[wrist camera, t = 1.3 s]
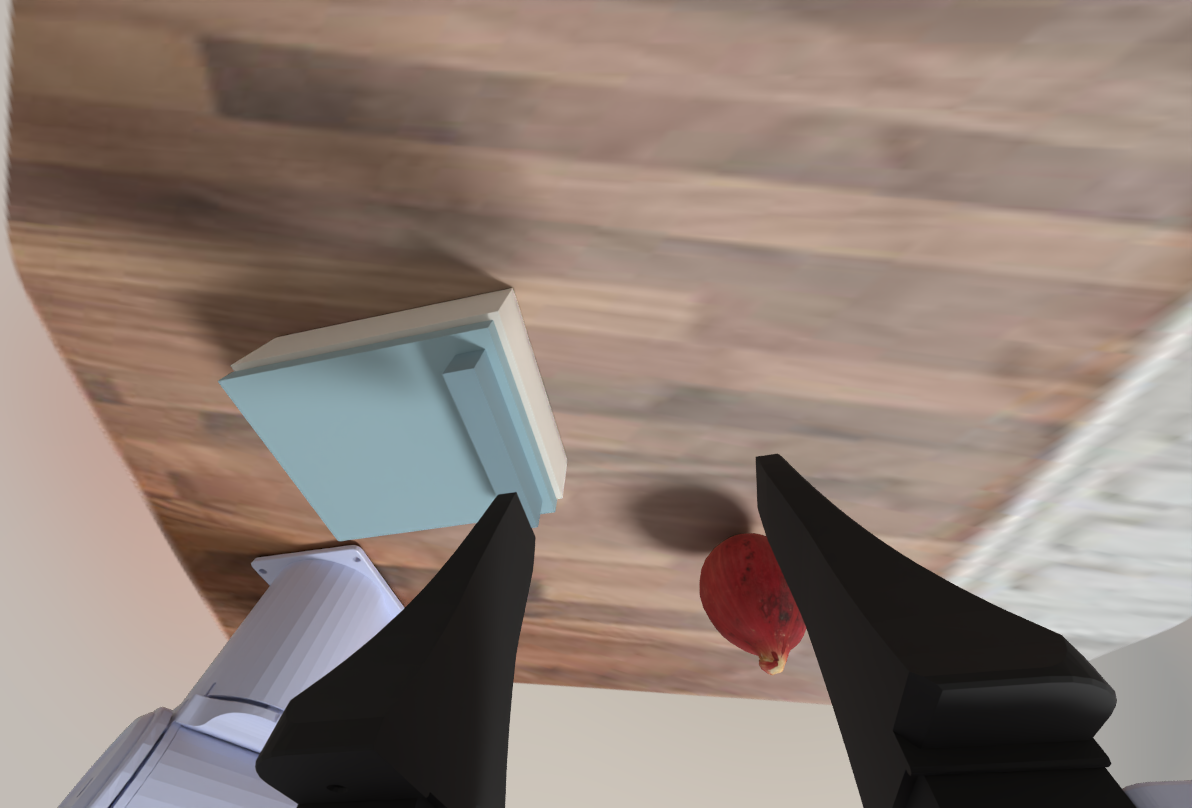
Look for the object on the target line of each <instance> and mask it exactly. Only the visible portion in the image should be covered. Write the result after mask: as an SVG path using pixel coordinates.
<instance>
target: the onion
mask: <svg viewBox="0 0 1192 808" xmlns="http://www.w3.org/2000/svg"><path fill="white" fill-rule="evenodd" d="M700 598H701V601H702V604H703V608H704V610H705V611H706V613H707V615H708V617H709V619H710V620H711V622H712V623H713V625H714V626H715V628H716V629H717V630H718V631H719V632H720V634H721V635H722V636H723V637H724V638H726V639H727V640H728V641H729V642H731V643H732V644H734V645H736V646H737V647H739V648H741V649H742V650H744V651H746V652H748V653H751V654H754V655H757V656H759V658H760V660H759V666H760V667H761V669H762V670H764V671H765V672H766V673H768V674H770V675H774V674H776V673H780V672H782V671H783V669H784V665H785V664H786V661H787V658H788V654H789V652H790V650H791V649H793V648H794V647H795V646H796V645H797V644H798V643H799V642H800V641H801V639H802V637H803V636H804V633H805V630H806V626H805V623H804V621H803V618H802V616H801V613H800V611H799V609H798V607H797V605H796V602H795V600H794V598H793V596H792V593H791V591H790V589H789V587H788V585H787V582H786V580H785V578H784V576H783V573H782V571H781V569H780V567H779V565H778V562H777V560H776V558H775V556H774V553H773V551H772V549H771V547H770V544H769V542H768V539H767V536H764V535H760V534H755V533H750V534H739V535H735V536H732V537H730V538H728V539H726V540H725V541H723V542H722V543H720V544H719V545H718V546H717V547H715V548H714V549H713V551H712V552H711V553H710V554H709V556H708V557H707V558H706V560H705V562H704V564H703V567H702V569H701V576H700Z"/></svg>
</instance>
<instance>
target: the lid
mask: <svg viewBox="0 0 1192 808" xmlns="http://www.w3.org/2000/svg"><path fill="white" fill-rule="evenodd" d="M218 382H219V384H220V385H221V386H222V388H223V389H224V390H225V392H226V393H227V394H228V396H229V397H230V398H231V400H232V401H233V402H234V404H235V405H236V406H237V408H238V409H239V410H240V412H241V413H242V414H243V416H244V417H245V418H246V419H247V421H248V422H249V423H250V425H251V426H252V427H253V429H254V430H255V431H256V433H257V434H258V435H259V437H260V438H261V439H262V441H263V442H264V443H265V445H266V446H267V447H268V449H269V450H270V451H271V453H272V454H273V455H274V457H275V458H276V459H277V461H278V462H279V463H280V465H281V466H282V467H283V469H284V470H285V471H286V473H287V474H288V475H289V477H290V478H291V479H292V481H293V482H294V483H295V485H296V486H297V487H298V488H299V490H300V491H301V492H302V494H303V495H304V496H305V498H306V499H307V500H308V502H309V503H310V504H311V506H312V507H313V508H314V510H315V511H316V512H317V514H318V515H319V516H320V518H321V519H322V520H323V522H324V523H325V524H326V526H327V527H328V528H329V530H330V531H331V532H332V534H333V535H334V536H335V538H336V539H337V540H338V541H345V540H352V539H360V538H367V537H375V536H382V535H389V534H397V533H404V532H412V531H419V530H426V529H434V528H441V527H449V526H456V525H463V524H471V523H477V522H478V521H479V519H480V518H481V517H482V515H483V514H484V513H485V511H486V510H487V509H488V507H489V506H490V504H491V503H492V502H493V500H494V499H495V498H496V496H497V495H499V494H505V493H512V492H517V494H518V497H519V499H520V502H521V504H522V506H523V509H524V511H525V514H526V516H527V518H528V521H529V523H530V525H531V528H534V527H538V524H539V518H540V514H545V513H552V512H555V510H556V503H557V499H556V496H555V493H554V490H553V488H552V485H551V482H550V479H549V476H548V473H547V471H546V468H545V465H544V462H543V459H542V457H541V454H540V451H539V448H538V445H537V442H536V440H535V437H534V434H533V431H532V428H531V425H530V423H529V420H528V417H527V414H526V411H525V408H524V406H523V403H522V400H521V397H520V394H519V391H518V389H517V386H516V383H515V380H514V377H513V374H512V372H511V369H510V366H509V363H508V360H507V357H506V355H505V352H504V349H503V346H502V343H501V341H500V338H499V335H498V332H497V329H496V326H495V324H494V321H493V320H489V321H484V322H479V323H474V324H469V325H464V326H459V327H454V328H449V329H444V330H439V331H434V332H429V333H424V334H419V335H414V336H409V337H404V338H399V339H394V340H389V341H384V342H379V343H374V344H369V345H364V346H359V347H354V348H349V349H344V350H339V351H334V352H329V353H324V354H319V355H314V356H309V357H304V358H299V359H294V360H290V361H285V362H280V363H275V364H270V365H265V366H260V367H255V368H250V369H245V370H240V371H235V372H231V373H230V374H228V375H227V376H225V377H223V378H222V379H220V380H219V381H218Z"/></svg>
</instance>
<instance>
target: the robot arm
mask: <svg viewBox="0 0 1192 808" xmlns="http://www.w3.org/2000/svg"><path fill="white" fill-rule="evenodd" d="M756 478H757V504H758V511H759V514H760V517H761V521H762V524H763V527H764V530H765V533H766V536H767V539H768V542H769V544H770V547H771V549H772V551H773V553H774V556H775V558H776V560H777V562H778V565H779V567H780V569H781V571H782V573H783V576H784V578H785V580H786V582H787V585H788V587H789V589H790V591H791V593H792V596H793V598H794V600H795V602H796V605H797V607H798V609H799V611H800V613H801V616H802V618H803V621H804V623H805V626H806V628H807V631H808V634H809V637H810V640H811V643H812V646H813V649H814V652H815V654H816V657H817V660H818V663H819V666H820V669H821V672H822V675H823V678H824V681H825V684H826V687H827V691H828V694H829V697H830V700H831V703H832V706H833V709H834V712H835V715H836V718H837V722H838V725H839V728H840V731H841V734H842V737H843V741H844V744H845V747H846V750H847V753H848V757H849V760H850V764H851V767H852V770H853V773H854V777H855V780H856V784H857V787H858V790H859V794H860V797H861V800H862V804H863V807H864V808H1192V780H1187V781H1164V782H1163V781H1162V782H1145V783H1138V784H1134V785H1130V786H1127V787H1125V788H1123V789H1122V788H1121V787H1120V786H1119V785H1118V783H1117V782H1116V781H1115V780H1114V778H1113V777H1112V776H1111V774H1110V773H1109V772H1108V771H1107V769H1106V768H1105V767H1109V766H1110V765H1111V762H1110V759H1109V757H1108V756H1107V755H1106V753H1105V752H1104V751H1103V750H1102V748H1101V747H1100V746H1099V745H1098V744H1097V742H1096V741H1095V740H1094V738H1093V737H1094V736H1095V734H1096V733H1097V732H1098V731H1099V729H1100V728H1101V727H1102V726H1103V724H1104V723H1105V722H1106V721H1107V719H1108V718H1109V717H1110V716H1111V714H1112V712H1113V710H1114V708H1115V706H1116V702H1117V699H1116V694H1115V691H1114V690H1113V689H1112V687H1111V686H1110V685H1109V684H1108V683H1107V682H1106V681H1105V680H1104V679H1103V677H1101V675H1100V674H1099V673H1098V672H1097V671H1096V669H1095V668H1094V667H1093V666H1092V665H1091V664H1090V663H1089V662H1088V661H1087V660H1086V658H1085V657H1084V656H1083V655H1082V654H1081V653H1080V652H1078V651H1077V650H1076V649H1075V648H1074V647H1073V646H1072V645H1071V644H1070V643H1069V642H1068V641H1067V640H1066V639H1065V638H1064V637H1063V636H1062V635H1060V634H1058V633H1056V632H1053V631H1051V630H1049V629H1047V628H1044V627H1042V626H1040V625H1038V624H1035V623H1033V622H1031V621H1029V620H1026V619H1024V618H1022V617H1020V616H1017V615H1015V614H1013V613H1011V612H1008V611H1006V610H1004V609H1002V608H1000V607H998V606H996V605H993V604H991V603H989V602H987V601H985V600H983V599H981V598H979V597H977V596H976V595H974V594H972V593H970V592H968V591H966V590H964V589H962V588H960V587H958V586H956V585H954V584H952V583H950V582H949V581H947V580H945V579H943V578H942V577H940V576H938V575H936V574H935V573H933V572H931V571H929V570H928V569H926V568H924V567H922V566H921V565H919V564H917V563H915V562H914V561H912V560H910V559H909V558H907V557H906V556H904V555H902V554H901V553H899V552H898V551H896V550H895V549H893V548H892V547H890V546H889V545H887V544H886V543H884V542H883V541H881V540H880V539H878V538H877V537H875V536H874V535H873V534H871V533H870V532H869V531H867V530H866V529H864V528H863V527H862V526H860V525H859V524H858V523H856V522H855V521H854V520H853V519H851V518H850V517H849V516H847V515H846V514H845V513H844V512H842V511H841V510H840V509H839V508H837V507H836V506H835V505H834V504H833V503H831V502H830V501H829V500H828V499H827V498H826V497H824V496H823V495H822V494H821V493H820V492H819V491H817V490H816V489H815V488H814V487H813V486H812V485H811V484H810V483H809V482H808V481H806V480H805V479H804V478H803V477H802V476H801V475H800V474H799V473H798V472H797V471H796V470H795V469H794V468H793V467H792V466H791V465H790V464H789V463H788V462H787V461H786V460H785V459H784V458H783V457H782V456H780V455H779V454H772V455H765V456H758V457H756ZM534 552H535V535H534V533H533V530H532V528H531V525H530V523H529V521H528V518H527V516H526V514H525V511H524V509H523V506H522V504H521V502H520V499H519V497H518V494H517V492H512V493H505V494H499V495H497V496H496V498H495V499H494V500H493V502H492V503H491V504H490V506H489V507H488V509H487V510H486V511H485V513H484V514H483V515H482V517H481V518H480V519H479V521H478V522H477V524H476V525H475V526H474V528H473V529H472V530H471V532H470V533H469V534H468V536H467V537H466V538H465V540H464V541H463V542H462V544H461V545H460V546H459V547H458V549H457V550H456V551H455V552H454V554H453V555H452V556H451V557H450V559H449V560H448V561H447V562H446V563H445V565H444V566H443V567H442V568H441V569H440V571H439V572H438V573H437V574H436V575H435V577H434V578H433V579H432V580H431V581H430V582H429V583H428V584H427V585H426V587H425V588H424V589H423V590H422V591H421V592H420V593H419V594H418V595H417V596H416V597H415V598H414V599H413V600H412V601H411V602H410V603H409V604H408V605H407V606H406V607H405V608H404V606H403V605H402V604H401V602H400V601H399V600H398V598H397V597H396V595H395V594H394V593H393V591H392V590H391V588H390V587H389V586H388V584H387V583H386V582H385V580H384V579H383V577H382V576H381V575H380V573H379V572H378V570H377V569H376V568H375V566H374V565H373V564H372V562H371V561H370V559H369V558H368V557H367V555H366V554H365V552H364V551H363V550H362V548H361V547H359V546H357V545H348V546H341V547H333V548H326V549H318V550H311V551H303V552H296V553H288V554H281V555H273V556H266V557H258V558H255V559H254V561H253V562H252V563H251V566H252V567H253V568H254V569H255V571H256V572H257V573H258V574H259V575H260V576H261V577H262V578H263V579H264V580H265V581H266V582H267V583H268V584H269V585H270V586H269V588H268V589H267V590H266V592H265V593H264V594H263V596H262V597H261V598H260V600H259V601H258V602H257V604H256V605H255V606H254V608H253V609H252V610H251V612H250V613H249V614H248V616H247V617H246V618H245V620H244V621H243V622H242V624H241V625H240V626H239V628H238V629H237V630H236V632H235V633H234V634H233V636H232V637H231V638H230V640H229V641H228V642H227V643H226V645H225V646H224V647H223V649H222V650H221V651H220V653H219V654H218V656H217V657H216V658H215V659H214V661H213V662H212V663H211V665H210V666H209V667H208V669H207V670H206V671H205V673H204V674H203V675H202V677H201V678H200V679H199V681H198V682H197V684H196V685H195V686H194V687H193V689H192V690H191V691H190V693H189V694H188V695H187V697H186V698H185V699H184V701H183V702H182V703H181V704H180V705H179V706H178V707H176V708H175V709H174V710H170V709H167V708H165V707H160V708H158V709H156V710H155V711H154V712H151V713H148V714H145V715H143V716H140V717H138V718H137V719H136V720H134V721H133V722H132V723H131V724H130V725H129V726H128V727H127V728H126V729H125V730H124V731H123V732H122V733H121V734H120V735H119V737H118V738H117V739H116V740H115V741H114V742H113V743H112V744H111V745H110V746H109V748H108V749H107V750H106V751H105V752H104V753H103V754H102V755H101V757H100V758H99V759H98V760H97V761H96V762H95V763H94V765H93V766H92V767H91V768H90V769H89V770H88V772H87V773H86V774H85V775H84V776H83V777H82V779H81V780H80V781H79V782H78V783H77V785H76V786H75V787H74V788H73V790H72V791H71V792H70V793H69V794H68V795H67V797H66V798H65V799H64V800H63V801H62V803H61V804H60V805H59V806H58V808H505V794H506V770H507V753H508V738H509V723H510V711H511V700H512V688H513V679H514V670H515V661H516V653H517V647H518V641H519V636H520V631H521V626H522V621H523V616H524V612H525V607H526V602H527V597H528V592H529V587H530V582H531V577H532V572H533V564H534Z"/></svg>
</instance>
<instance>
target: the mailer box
mask: <svg viewBox="0 0 1192 808" xmlns="http://www.w3.org/2000/svg"><path fill="white" fill-rule="evenodd" d="M489 320H493V321H494V324H495V326H496V329H497V332H498V335H499V338H500V341H501V343H502V346H503V349H504V352H505V355H506V357H507V360H508V363H509V366H510V369H511V372H512V374H513V377H514V380H515V383H516V386H517V389H518V391H519V394H520V397H521V400H522V403H523V406H524V408H525V411H526V414H527V417H528V420H529V423H530V425H531V428H532V431H533V434H534V437H535V440H536V442H537V445H538V448H539V451H540V454H541V457H542V459H543V462H544V465H545V468H546V471H547V473H548V476H549V479H550V482H551V485H552V488H553V490H554V493H555V496H556V499H561V498H563V490H564V483H565V475H566V468H567V457H566V454H565V451H564V448H563V445H562V442H561V438H560V435H559V432H558V429H557V426H556V423H555V419H554V416H553V413H552V410H551V407H550V404H549V400H548V397H547V394H546V391H545V388H544V385H543V381H542V378H541V375H540V372H539V369H538V366H537V363H536V359H535V356H534V353H533V350H532V347H531V344H530V340H529V337H528V334H527V331H526V328H525V325H524V321H523V318H522V315H521V312H520V309H519V306H518V302H517V299H516V296H515V293H514V290H513V288H509V289H505V290H500V291H495V292H490V293H486V294H481V295H476V296H471V297H466V298H462V299H457V300H452V301H447V302H443V303H438V304H433V305H428V306H424V307H419V308H414V309H409V310H405V311H400V312H395V313H390V314H385V315H381V316H376V317H371V318H366V319H362V320H357V321H352V322H347V323H343V324H338V325H333V326H328V327H323V328H319V329H314V330H309V331H304V332H300V333H295V334H290V335H285V336H281V337H276V338H274V339H273V340H271V341H270V342H268V343H266V344H265V345H263V346H261V347H260V348H258V349H256V350H255V351H253V352H251V353H250V354H248V355H247V356H245V357H243V358H242V359H240V360H238V361H237V362H235V363H233V364H232V365H230V366H231V367H232V369H233V370H234V371H240V370H245V369H250V368H255V367H260V366H265V365H270V364H275V363H280V362H285V361H290V360H294V359H299V358H304V357H309V356H314V355H319V354H324V353H329V352H334V351H339V350H344V349H349V348H354V347H359V346H364V345H369V344H374V343H379V342H384V341H389V340H394V339H399V338H404V337H409V336H414V335H419V334H424V333H429V332H434V331H439V330H444V329H449V328H454V327H459V326H464V325H469V324H474V323H479V322H484V321H489Z"/></svg>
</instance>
